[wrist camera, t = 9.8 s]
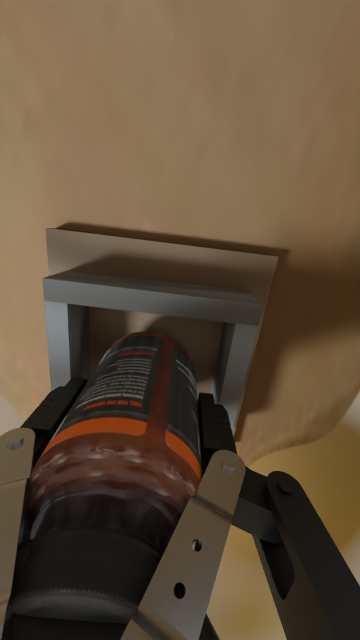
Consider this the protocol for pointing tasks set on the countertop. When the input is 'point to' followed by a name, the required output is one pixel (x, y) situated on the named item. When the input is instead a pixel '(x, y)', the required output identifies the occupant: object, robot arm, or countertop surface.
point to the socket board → (155, 305)
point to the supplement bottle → (113, 484)
